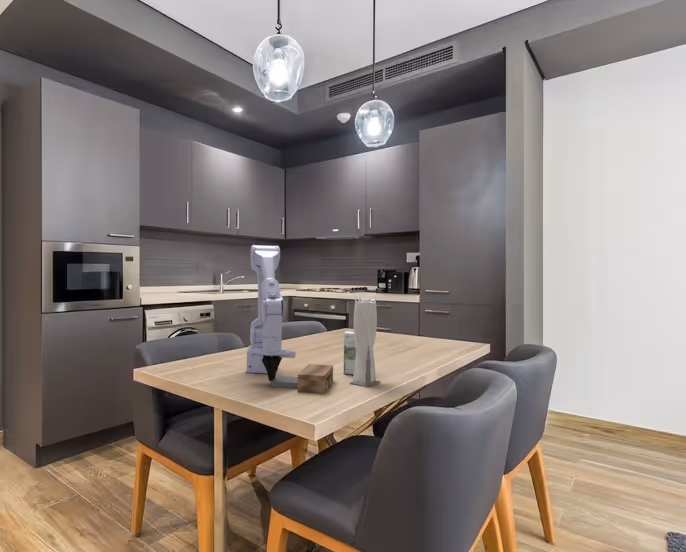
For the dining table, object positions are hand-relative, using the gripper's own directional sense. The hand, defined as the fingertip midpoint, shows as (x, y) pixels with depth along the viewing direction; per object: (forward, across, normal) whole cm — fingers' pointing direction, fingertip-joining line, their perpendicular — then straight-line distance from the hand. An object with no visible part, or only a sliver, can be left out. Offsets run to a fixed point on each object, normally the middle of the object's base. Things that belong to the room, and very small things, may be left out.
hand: (271, 380), depth 126 cm
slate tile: (+1, +7, 0) cm, 7 cm away
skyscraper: (+1, +28, +7) cm, 29 cm away
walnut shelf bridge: (+1, +14, 0) cm, 14 cm away
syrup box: (+1, +23, +18) cm, 29 cm away
